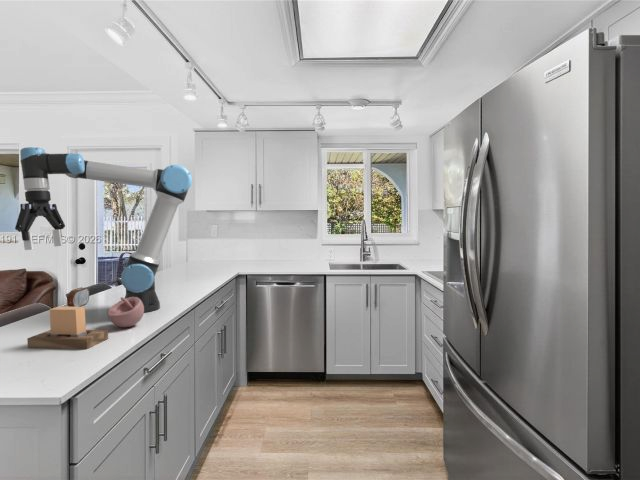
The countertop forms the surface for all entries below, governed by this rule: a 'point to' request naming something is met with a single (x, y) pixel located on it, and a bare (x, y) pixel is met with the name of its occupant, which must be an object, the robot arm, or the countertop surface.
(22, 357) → the countertop surface
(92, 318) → the countertop surface
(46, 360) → the countertop surface
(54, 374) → the countertop surface
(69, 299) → the tin
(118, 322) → the mortar and pestle
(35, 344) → the wooden compartment tray
